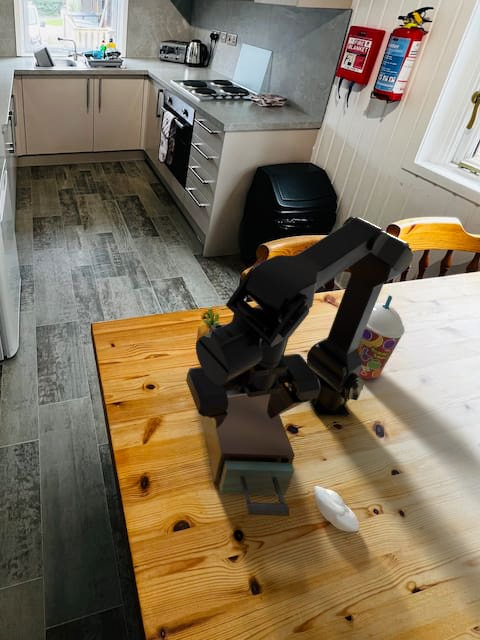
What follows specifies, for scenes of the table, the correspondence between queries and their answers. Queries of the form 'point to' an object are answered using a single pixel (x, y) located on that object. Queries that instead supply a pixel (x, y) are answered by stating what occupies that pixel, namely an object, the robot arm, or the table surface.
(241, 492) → the drawer
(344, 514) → the dumpling
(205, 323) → the carrot
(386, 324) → the smoothie
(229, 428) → the cabinet
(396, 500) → the table surface
